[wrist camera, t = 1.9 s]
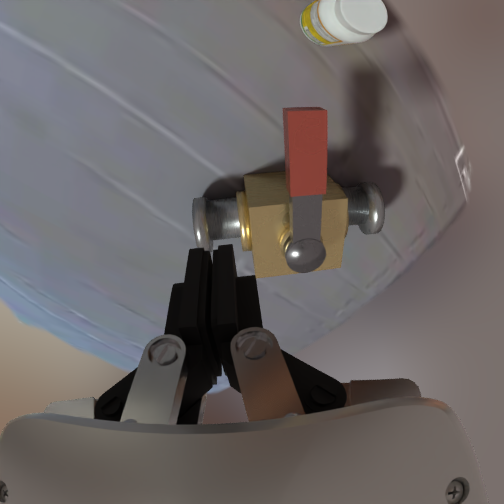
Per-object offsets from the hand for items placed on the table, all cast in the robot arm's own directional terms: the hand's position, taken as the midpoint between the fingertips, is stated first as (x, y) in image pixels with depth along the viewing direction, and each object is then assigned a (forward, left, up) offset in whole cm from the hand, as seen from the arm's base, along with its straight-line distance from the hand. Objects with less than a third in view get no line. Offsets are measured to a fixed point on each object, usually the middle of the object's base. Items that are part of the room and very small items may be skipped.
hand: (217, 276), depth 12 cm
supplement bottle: (-13, +12, -22) cm, 28 cm away
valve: (+8, +6, -22) cm, 24 cm away
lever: (+3, +6, -12) cm, 14 cm away
